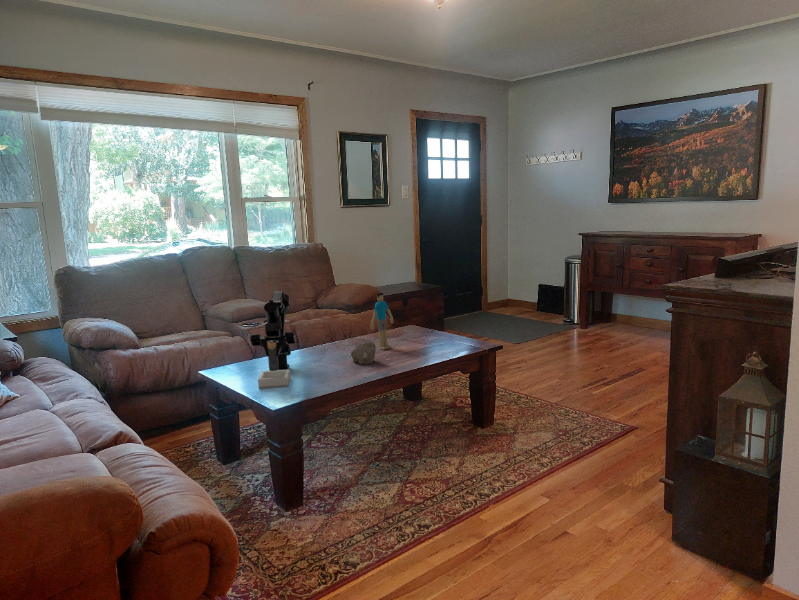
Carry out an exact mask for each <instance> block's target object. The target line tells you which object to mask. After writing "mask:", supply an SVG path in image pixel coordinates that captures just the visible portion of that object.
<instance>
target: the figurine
mask: <svg viewBox="0 0 799 600" xmlns="http://www.w3.org/2000/svg"><path fill="white" fill-rule="evenodd" d="M376 295H377V302H375V304H374V306H375V307H374V309H373V314H372V315H373V316H372V318H371V322H370V330H371V331H374V329H375V320H376V321H377V327H378V329H377V330H378V339H379V340H378V341H379V348H380V350H388V349H391V348H392V346H391V345H388V335H387V314H388V316H389V323H390V324H394V317H393V314H392V312H391V309H390V307H389V306H388V304H387V302H386V301H384V293H383V292H378V293H377V294H376Z"/></svg>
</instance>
